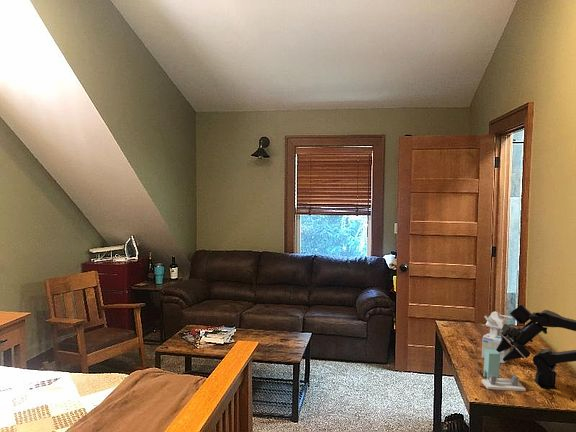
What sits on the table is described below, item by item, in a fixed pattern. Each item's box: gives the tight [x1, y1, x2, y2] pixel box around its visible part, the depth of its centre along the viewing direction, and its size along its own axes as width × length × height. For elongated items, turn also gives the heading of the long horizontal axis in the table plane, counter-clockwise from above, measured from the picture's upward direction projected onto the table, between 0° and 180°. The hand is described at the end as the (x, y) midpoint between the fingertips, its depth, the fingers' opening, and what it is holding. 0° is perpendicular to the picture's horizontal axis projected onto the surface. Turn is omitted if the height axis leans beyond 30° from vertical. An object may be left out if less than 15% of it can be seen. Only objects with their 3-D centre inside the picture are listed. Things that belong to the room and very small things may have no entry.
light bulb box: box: [481, 333, 510, 364], centre depth 222 cm, size 11×7×11 cm, turn 47°
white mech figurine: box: [483, 311, 514, 336], centre depth 238 cm, size 12×13×18 cm
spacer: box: [483, 349, 501, 380], centre depth 199 cm, size 4×5×12 cm
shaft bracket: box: [481, 374, 527, 392], centre depth 192 cm, size 15×7×4 cm, turn 86°
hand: (499, 356), depth 199 cm, fingers open, 9 cm apart
